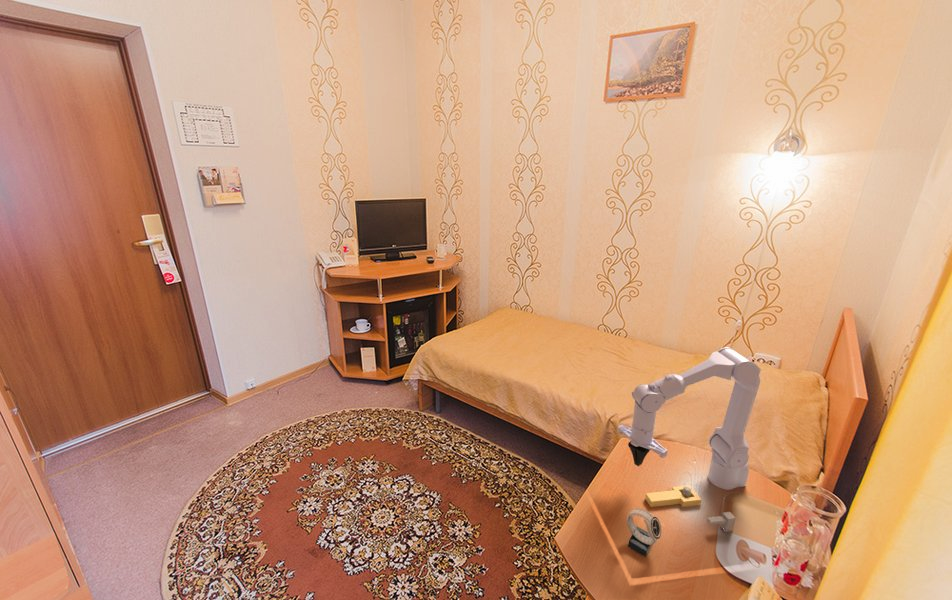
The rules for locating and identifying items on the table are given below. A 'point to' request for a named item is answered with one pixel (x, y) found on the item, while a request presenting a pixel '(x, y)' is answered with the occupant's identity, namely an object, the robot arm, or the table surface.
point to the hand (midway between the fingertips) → (638, 463)
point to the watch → (643, 531)
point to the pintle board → (724, 520)
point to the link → (673, 498)
